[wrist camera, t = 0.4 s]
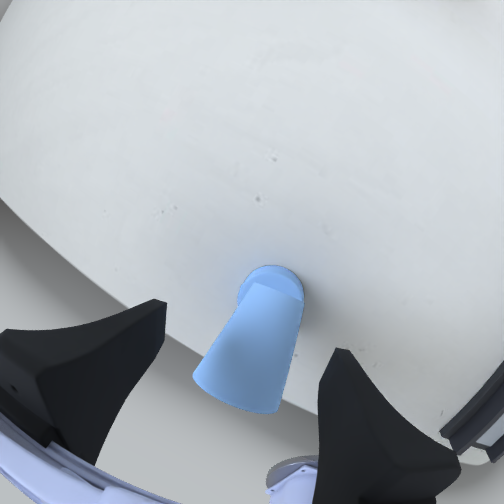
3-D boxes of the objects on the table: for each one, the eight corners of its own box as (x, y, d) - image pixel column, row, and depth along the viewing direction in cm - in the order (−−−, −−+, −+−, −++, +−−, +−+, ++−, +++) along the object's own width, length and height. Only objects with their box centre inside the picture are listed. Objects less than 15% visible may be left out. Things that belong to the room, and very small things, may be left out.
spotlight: (282, 349, 22) (321, 271, 20) (265, 446, 12) (333, 347, 10) (224, 324, 22) (255, 244, 20) (174, 410, 13) (213, 298, 11)
